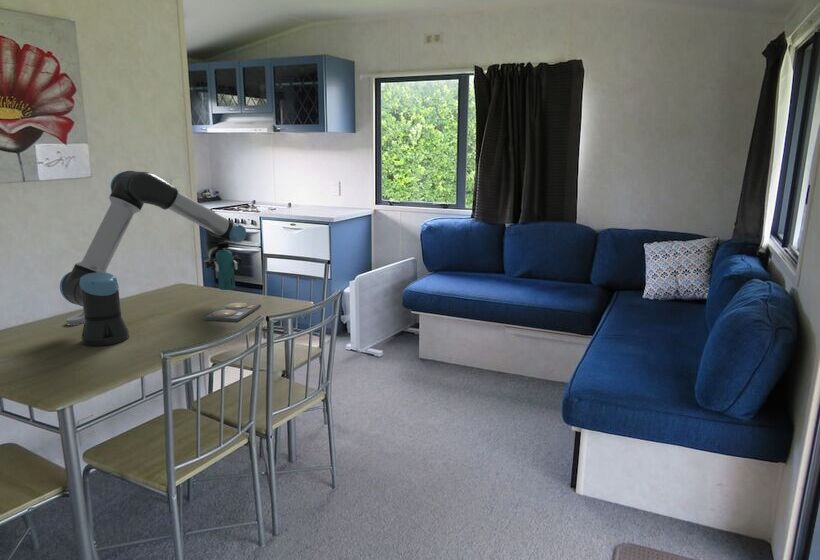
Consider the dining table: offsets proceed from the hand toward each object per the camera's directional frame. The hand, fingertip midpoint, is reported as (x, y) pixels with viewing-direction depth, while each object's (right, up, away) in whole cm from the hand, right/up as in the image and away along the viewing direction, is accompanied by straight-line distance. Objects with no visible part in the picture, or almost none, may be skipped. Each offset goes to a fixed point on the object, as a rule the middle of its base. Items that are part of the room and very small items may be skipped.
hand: (227, 267), depth 230 cm
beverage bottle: (-2, -10, +7) cm, 12 cm away
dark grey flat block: (-2, -19, +15) cm, 24 cm away
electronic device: (-58, -21, +6) cm, 62 cm away
